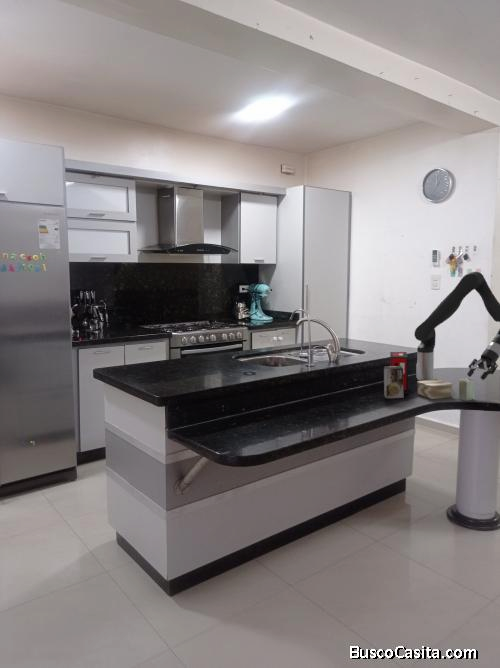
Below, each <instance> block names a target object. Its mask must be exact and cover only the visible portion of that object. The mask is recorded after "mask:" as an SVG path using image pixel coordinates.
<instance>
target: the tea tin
mask: <svg viewBox="0 0 500 668" xmlns="http://www.w3.org/2000/svg"><path fill="white" fill-rule="evenodd" d="M458 399H459V400H463V401H466V402H467V400H468V401H472V399H473V400H475V379H472V378H467V377H466V378H460V379H458Z"/></svg>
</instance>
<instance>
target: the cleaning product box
mask: <svg viewBox="0 0 500 668" xmlns="http://www.w3.org/2000/svg"><path fill="white" fill-rule="evenodd" d="M389 355H390V357H389V358H390V361H389V363H390V364H389V366H401V367H402V368H403V391H404V394H409V372H408V370H409V369H408V368H409V367H408V366H409V362H408V361H409V358H408V352H406V351H390V352H389Z"/></svg>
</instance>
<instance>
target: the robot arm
mask: <svg viewBox="0 0 500 668" xmlns="http://www.w3.org/2000/svg"><path fill="white" fill-rule="evenodd" d="M474 290H475V291H476V292H477V293H478V295H479V296H480V297H481V299H482V302H483V305H484V307H485V310H486V311H487V312H488V314H489V316H490V317H491V318H492V319H493V321H495V322H499V323H500V302H499V301H498V299H497V297H496V296H495V295H494V293H493V291H492V290H491V288H490V287H489V285H488V283H487V281H486V278H485V277H484V275H483V273H481V272H480V271H471V272H468V273H466V274H465V275H463V276H462V278H460V280H459V282H458V283H457V284H456V286H455V287H454V288H453V290H452V291H451V292H450V293H449V294H447V295H446V297H445V298H444V299H442V301H440V303H439V304H438V305H437V307H436V308H435V309H434V310H433V311H432V312H431V313H430V315H429V316H427V318H426V319H425V320H424V321H423V322H422V323H421V324H419V325H418V326H417V327H416V328H415V331H414V337H415V339H416V341H419V342H420V344H418V346H417V348H416V349H417V351H416V352H417V354H416V355H417V358H416V360H417V361H416V362H417V363H416V364H415V365H416V367H415V368H416V373H415V374H416V375H415V376H416V378H417V380H418V381H425V380H433V379H435V377H434V376H435V375H434V374H435V373H434V371H435V369H434V362H435V361H434V359H435V357H434V356H435V354H434V352H435V351H434V349H435V347H436V335H437V334H436V328H437V327H438V326H439V325H441V324H443V323H445V321H447V320H448V319H449V318H451V317H452V316H453V315H454V314H455V312H457V311H458V309H459V308H460V306H461V303H462V302H463V300H464V299H465V298H466V296H468V295H469V294H470V293H471V292H472V291H474ZM499 358H500V328H499V329H498V331H497V333H496V334H495V336H494V337H493V339H492V340H491V342H490V343H489V344H488V345H487V347H485V349H484V351H483V352H482V354H481V355H480V358H479V359H477V358H473V360H472V361H471V362H470V363H469V365H468V368H469V370H468V372H467V376H468V377H469V378H471V377H472V376H473V375H474V373H475V371H479V370H484V371H483V373H482V374H481V376H480V379H481V380H482V381H485V379H487V378H488V376H489V375H493V374H495V372H496V370H497V368H498V367H499V365H498V363H497V361H498V360H499ZM416 378H415V379H416Z"/></svg>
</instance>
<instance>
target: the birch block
mask: <svg viewBox="0 0 500 668" xmlns="http://www.w3.org/2000/svg"><path fill="white" fill-rule="evenodd" d="M416 384H417V395H420V396H423V397H425V398H428V399H431V400H435V399H444V398H449V397H450V398H452V393H453V391H452V388H453V383H451V382H448V381H445V380H441V379H438V378H434V379H433V380H425V381H420V380H418V381H416Z"/></svg>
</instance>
